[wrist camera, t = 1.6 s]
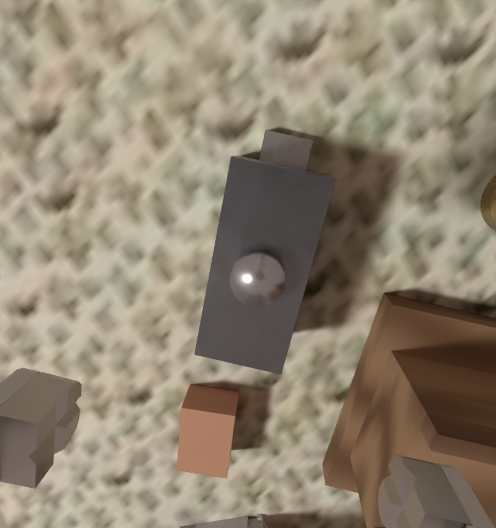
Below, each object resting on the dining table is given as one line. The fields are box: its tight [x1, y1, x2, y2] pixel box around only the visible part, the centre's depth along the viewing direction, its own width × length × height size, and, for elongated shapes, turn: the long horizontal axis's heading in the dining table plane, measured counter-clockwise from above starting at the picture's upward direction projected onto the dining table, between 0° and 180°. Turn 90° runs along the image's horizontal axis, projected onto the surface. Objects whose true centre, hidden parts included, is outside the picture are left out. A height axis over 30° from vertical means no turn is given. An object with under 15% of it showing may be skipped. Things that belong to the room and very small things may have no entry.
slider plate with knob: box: [194, 130, 336, 374], centre depth 22 cm, size 16×6×6 cm, turn 168°
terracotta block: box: [177, 384, 239, 478], centre depth 28 cm, size 6×4×3 cm, turn 173°
